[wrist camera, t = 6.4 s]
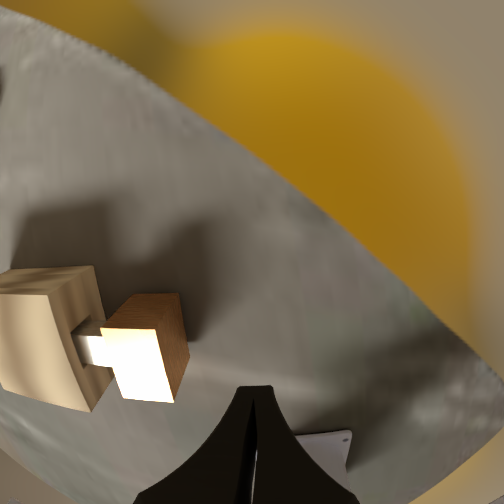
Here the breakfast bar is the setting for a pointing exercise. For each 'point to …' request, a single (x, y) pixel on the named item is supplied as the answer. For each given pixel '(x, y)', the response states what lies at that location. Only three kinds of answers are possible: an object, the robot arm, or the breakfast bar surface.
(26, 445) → the breakfast bar surface
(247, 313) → the breakfast bar surface
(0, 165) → the breakfast bar surface
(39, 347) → the block
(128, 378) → the shaft
